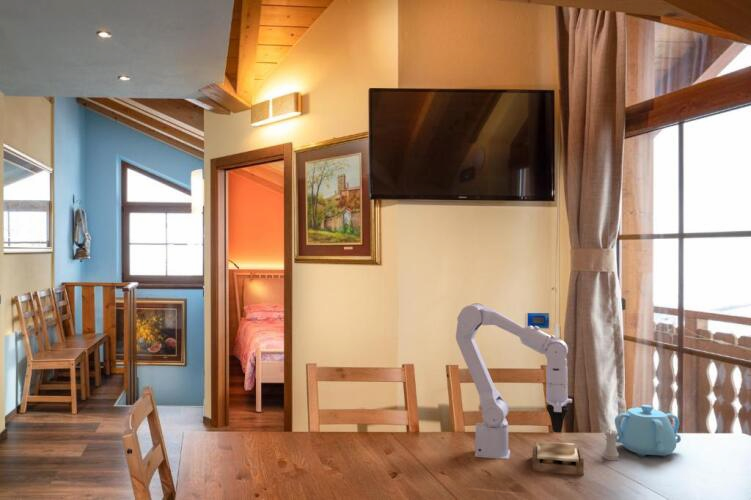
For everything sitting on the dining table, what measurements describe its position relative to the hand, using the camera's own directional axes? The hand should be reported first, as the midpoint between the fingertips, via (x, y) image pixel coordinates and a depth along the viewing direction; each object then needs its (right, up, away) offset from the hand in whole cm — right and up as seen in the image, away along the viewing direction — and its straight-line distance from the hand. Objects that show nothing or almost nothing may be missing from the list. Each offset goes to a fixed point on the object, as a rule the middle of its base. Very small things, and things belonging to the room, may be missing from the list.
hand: (557, 431), depth 173 cm
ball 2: (+2, -8, -3) cm, 9 cm away
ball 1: (-4, -8, -5) cm, 10 cm away
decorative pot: (+29, -9, +10) cm, 32 cm away
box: (-1, -9, -4) cm, 9 cm away
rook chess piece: (+16, -9, +3) cm, 19 cm away
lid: (-1, -5, -4) cm, 7 cm away
